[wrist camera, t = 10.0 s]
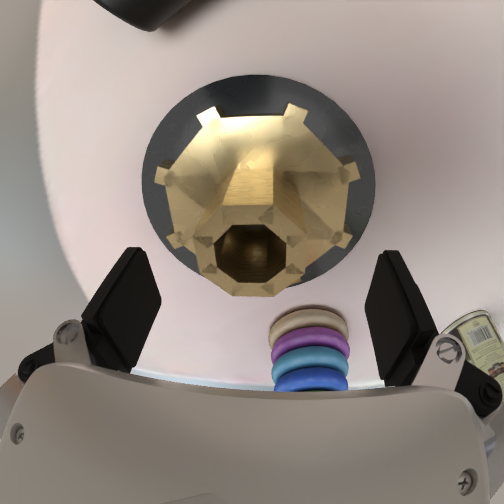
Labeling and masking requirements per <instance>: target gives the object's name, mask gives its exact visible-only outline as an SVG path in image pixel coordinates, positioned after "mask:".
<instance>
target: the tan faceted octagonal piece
mask: <svg viewBox="0 0 504 504" xmlns="http://www.w3.org/2000/svg"><path fill="white" fill-rule="evenodd" d="M307 112H308V111H307V110H306V109H304V108H302V107H299V106H297V105H294V104H292V103H289V102H287V104H286V106H285V108H284V111H283V113H261V114H238V115H225V114H224V112H223V111H222V109H221V107H220V105H216V106H214V107H212V108H210V109H208V110H206V111H204V112H202V113H200V114H198V115H197V117H198V119H199V121H200V122H201V124H202V126H203V128H202V129H201V130H200V131H199V133H198V134H197V135H196V136H195V137H194V139H193V140H192V141H191V142H190V144H189V145H188V146H187V147H186V149H185V150H184V151H183V152H182V154H181V155H180V156H179V157H178V159H177V160H176V161H175V162H173V161H169V160H165V161H163V162H162V163H161V164H160V165H159V166H157V171H156V176H155V181H154V183H157V184H161V185H164V186H165V187H166V192H167V197H168V203H169V208H170V213H171V217H172V222H173V226H172V228H171V229H170V231H169V233H168V234H167V236H166V238H167V239H168V241H169V242H170V243H171V245H172V246H173V248H174V249H176V248H179V247H181V246H185V247H186V248H187V249H189V250H190V251H191V252H193V253H194V254H195V255H196V257H197V262H198V267H199V272H200V274H201V275H203V276H204V277H206V278H207V279H208V280H210V281H211V282H213V283H214V284H216V285H217V286H219V287H220V288H221V289H223V290H224V291H226V292H227V293H229V294H230V295H232V296H261V297H274V296H275V295H276V294H278V293H279V292H281V291H282V290H283V289H285V288H286V287H288V286H289V285H291V284H294V283H297V282H301V276H303V275H304V274H305V268H306V267H307V266H308V265H310V264H311V263H312V262H314V261H315V260H316V259H318V258H319V257H320V256H322V255H323V254H324V253H325V252H327V251H328V250H329V249H331V248H332V247H333V246H334V245H336V246H339V247H341V248H344V249H345V248H346V246H347V244H348V243H349V241H350V240H351V238H352V236H353V235H352V233H351V231H350V228H349V226H348V224H345V223H344V221H345V213H346V204H347V195H348V185H349V182H351V181H354V180H357V179H360V175H359V172H358V168H357V165H356V162H355V161H354V160H353V159H352V158H351V157H350V156H349V155H347V156H344V157H341V158H339V159H337V158H336V157H335V155H334V154H333V153H332V152H331V151H330V150H329V149H328V148H327V147H326V146H325V145H324V144H323V143H322V142H321V141H320V140H319V139H318V138H317V137H316V136H315V135H314V133H313V132H312V131H311V130H310V129H308V128H307V127H306V126H305V125H304V124H303V122H304V119H305V117H306V115H307ZM246 224H264V225H266V226H267V227H266V228H264V229H262V230H259V231H250V230H247V229H245V228H243V227H242V226H241V225H246Z"/></svg>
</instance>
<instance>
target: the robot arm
mask: <svg viewBox="0 0 504 504" xmlns="http://www.w3.org/2000/svg"><path fill="white" fill-rule="evenodd" d="M160 306H161V296H160V293H159V290H158V287H157V284H156V282H155V279H154V276H153V273H152V270H151V267H150V264H149V260H148V257H147V254H146V252H145V251H143V250H142V248H140V247H128V248H127V249H126V250H125V251H124V252H123V254H122V255H121V257H120V258H119V259H118V261H117V262H116V264H115V265H114V266H113V268H112V269H111V271H110V272H109V274H108V275H107V276H106V278H105V279H104V281H103V282H102V284H101V285H100V287H99V288H98V290H97V291H96V293H95V294H94V296H93V298H92V299H91V301H90V302H89V304H88V306H87V307H86V309H85V310H84V312H83V313H82V315H81V317H82V319H83V320H82V321H81V323H80V322H79V321H77V320H68V321H65V322H64V323H62V324H61V325H60V326H59V327H58V328H57V329H56V331H55V333H54V335H53V343H51V344H49V345H47V346H45V347H44V348H42V349H40V350H38V351H36V352H34V353H32V354H30V355H28V356H27V357H25V358H24V359H23V361H22V362H21V363H20V365H19V369H18V375H17V374H14V375H13V376H12V377H11V378H10V379H8V381H7V382H5V383H4V384H3V385H2V386H1V387H0V438H1V442H0V504H490V499H491V498H492V497H493V495H494V494H495V493H496V492H497V490H498V489H499V488H500V486H501V485H502V483H503V482H504V402H503V401H502V398H503V393H502V389H501V386H500V384H499V383H498V381H496V380H495V379H494V378H493V377H491V376H490V375H488V374H487V373H485V372H484V371H482V370H480V369H479V368H477V367H476V366H474V365H473V364H471V363H470V362H468V361H467V360H465V354H466V353H465V348H464V346H463V344H462V343H461V341H460V340H459V339H458V338H456V337H455V336H453V335H450V334H440V335H439V333H438V331H437V328H436V326H435V323H434V321H433V319H432V316H431V314H430V312H429V309H428V307H427V305H426V303H425V300H424V298H423V296H422V294H421V292H420V290H419V288H418V286H417V284H415V282H414V280H413V278H412V276H411V274H410V272H409V270H408V268H407V266H406V264H405V262H404V260H403V258H402V256H401V254H400V252H399V251H397V250H385V251H384V252H383V254H379V256H378V260H377V264H376V267H375V271H374V275H373V278H372V282H371V285H370V289H369V292H368V295H367V299H366V302H365V313H366V317H367V321H368V325H369V329H370V334H371V338H372V342H373V347H374V351H375V356H376V361H377V366H378V371H379V376H380V379H381V380H384V383H385V388H375V389H362V390H345V391H324V392H276V391H253V390H252V391H251V390H238V389H226V388H215V387H206V386H198V385H191V384H184V383H177V382H171V381H165V380H159V379H154V378H148V377H143V376H138V375H133V374H130V372H131V369H132V367H135V366H136V364H137V361H138V359H139V356H140V354H141V351H142V349H143V346H144V344H145V342H146V339H147V337H148V334H149V332H150V330H151V327H152V325H153V322H154V320H155V318H156V315H157V313H158V311H159V309H160ZM118 370H119V371H118ZM389 386H395V387H389Z"/></svg>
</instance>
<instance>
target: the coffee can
mask: <svg viewBox="0 0 504 504" xmlns="http://www.w3.org/2000/svg"><path fill="white" fill-rule="evenodd" d="M441 334H450V335H453V336H455V337H456V338H458V339H459V340H460V341H461V343H462V344H463V346H464V348H465V353H466V354H465V360H467V361H468V362H470V363H471V364H473V365H474V366H476V367H477V368H479V369H480V370H482V371H484V372H485V373H487V374H488V375H490V376H491V377H493V378H494V379H495V380H496V381H498V383H499V384H500V386H501V389H502V393H503V398H502V401H503V402H504V342H503V340H502V338H501V336H500V334H499V333H498V331H497V329H496V327H495V325H494V323H493V322H492V320H491V318H490V315H489V314H488V313H487V312H486V311H476V312H473V313H470V314H468V315H466V316H464V317H462V318H460V319H459V320H457V321H456V322H454V323H453V324H452V325H450V326H449V327H448V328H447V329H446V330H444V331H443V332H442V333H441Z"/></svg>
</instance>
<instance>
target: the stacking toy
mask: <svg viewBox="0 0 504 504" xmlns="http://www.w3.org/2000/svg"><path fill="white" fill-rule="evenodd" d="M347 341H348V328H347V325H346V323H345V322H344V321H343V319H342V318H341V317H339V316H338V315H336V314H334V313H332V312H329V311H326V310H320V309H305V310H299V311H296V312H293V313H290V314H288V315H286V316H284V317H282V318H281V319H280V320H278V321H277V322H276V323H275V324H274V325H273V327H272V329H271V331H270V334H269V344H270V347H271V349H272V352H271V359H272V363H273V368H272V379H273V381H274V383H275V384H276V385H275V387H274V391H276V392H324V391H345V390H348V382H347V380H346V376H347V373H348V362H347V359H348V357H349V353H350V348H349V344H348V342H347Z"/></svg>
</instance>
